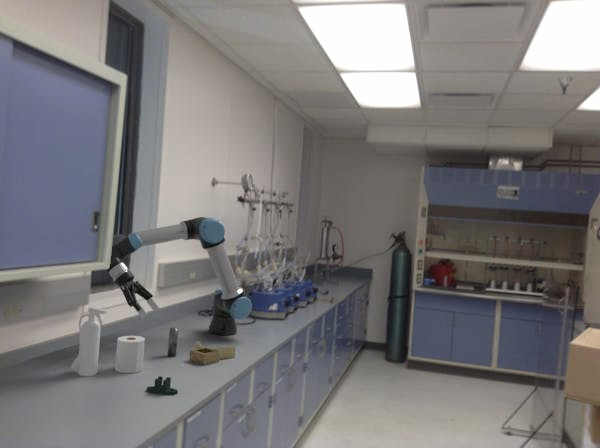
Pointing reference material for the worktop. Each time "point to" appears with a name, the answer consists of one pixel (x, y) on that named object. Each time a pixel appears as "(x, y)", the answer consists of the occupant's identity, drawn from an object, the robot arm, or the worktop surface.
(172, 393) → the mount
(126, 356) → the toilet paper
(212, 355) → the tan piece
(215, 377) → the worktop surface
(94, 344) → the fire extinguisher
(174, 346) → the hinge pin
